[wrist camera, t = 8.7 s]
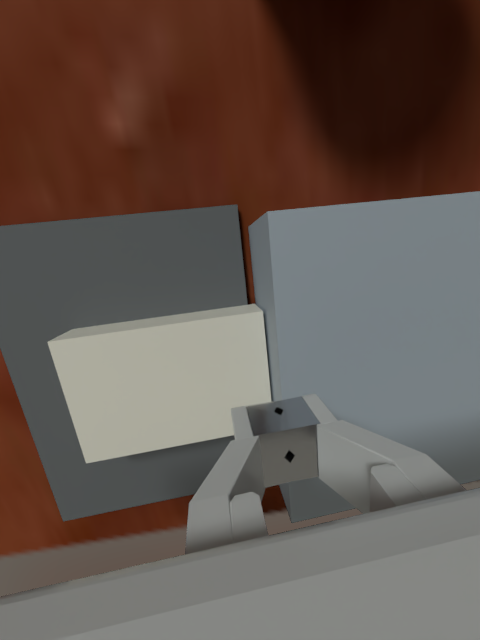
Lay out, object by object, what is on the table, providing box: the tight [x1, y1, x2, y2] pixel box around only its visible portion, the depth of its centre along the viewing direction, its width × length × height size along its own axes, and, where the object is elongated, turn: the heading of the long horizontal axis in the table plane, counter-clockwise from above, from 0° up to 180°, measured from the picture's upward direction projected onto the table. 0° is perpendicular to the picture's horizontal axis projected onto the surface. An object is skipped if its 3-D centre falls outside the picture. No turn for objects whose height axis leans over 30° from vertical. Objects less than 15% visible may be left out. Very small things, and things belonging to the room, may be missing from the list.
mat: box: [0, 205, 248, 521], centre depth 13 cm, size 12×16×1 cm
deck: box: [248, 191, 480, 523], centre depth 13 cm, size 20×14×4 cm
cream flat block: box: [47, 304, 272, 463], centre depth 12 cm, size 9×6×2 cm, turn 96°
